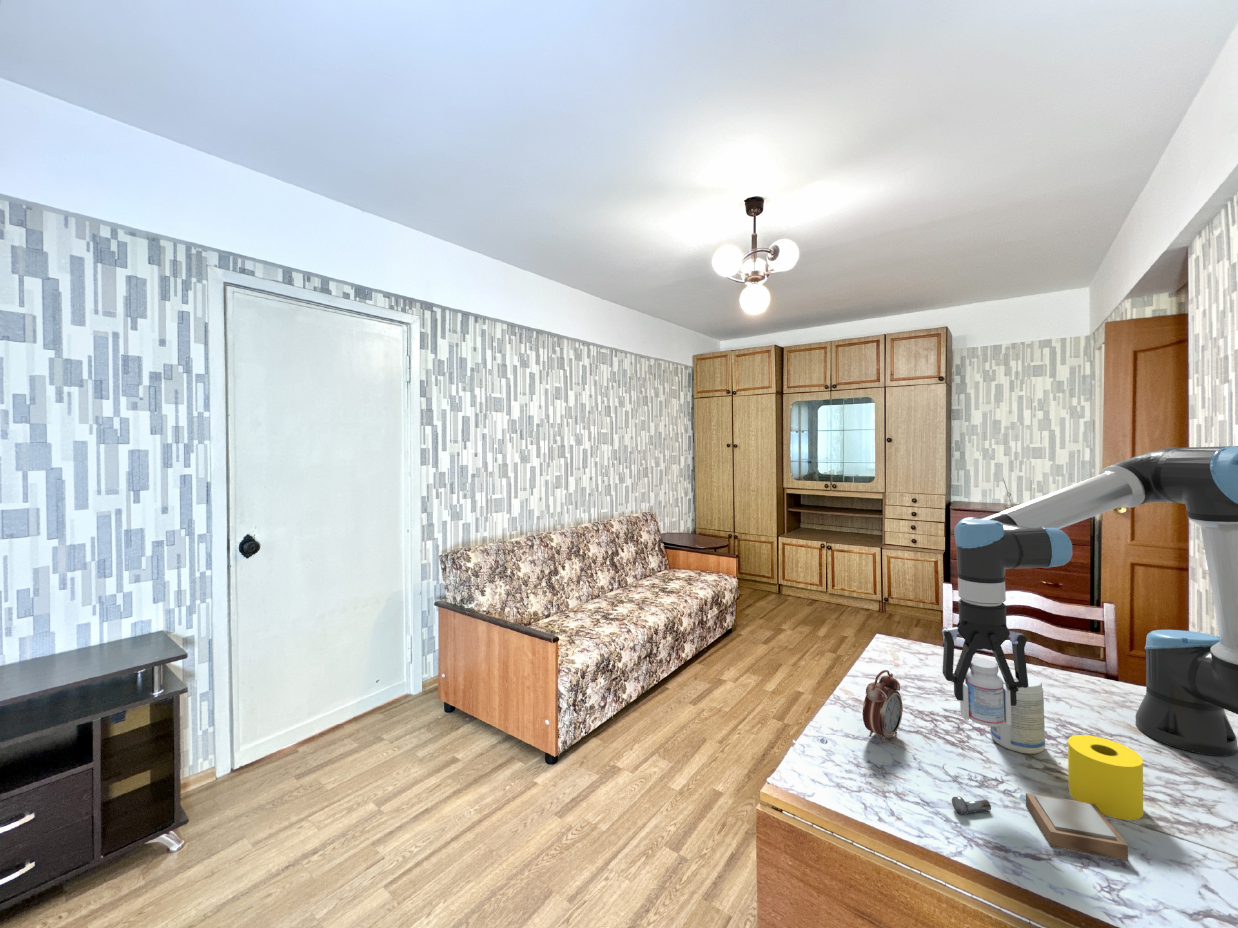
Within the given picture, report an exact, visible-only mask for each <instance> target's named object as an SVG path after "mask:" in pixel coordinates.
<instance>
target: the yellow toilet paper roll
mask: <svg viewBox="0 0 1238 928" xmlns="http://www.w3.org/2000/svg"><path fill="white" fill-rule="evenodd" d="M1067 761H1068V762H1067V763H1068V764H1067V765H1068V766H1067V767H1068V768H1067V769H1068V770H1067V774H1068V778H1067V779H1068V786H1067V787H1068V792H1069V794H1070V796H1071V797H1072V798H1073V799H1074V801H1080V802H1086V803H1092V804H1095V805H1096V806H1097V808H1098V809H1099V810H1100V811H1101V813H1102V814H1103V815H1104V816H1105V817H1110V818H1113V819H1119V820H1125V821H1133V820H1134V821H1135V820H1139V819H1142V817H1143V816H1144V759H1143V758H1142V756H1141V755H1140V754H1139V753H1138V752H1136V751H1135V750H1133V749H1132V748H1130V747H1128V746H1126V745H1124V744H1122V743H1119V742H1117V741H1113V740H1111V739H1108V738H1103V737H1099V736H1096V735H1095V736H1094V735H1087V734H1077V735H1071V736H1070V737H1069V738H1068V739H1067Z"/></svg>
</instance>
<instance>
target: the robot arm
mask: <svg viewBox="0 0 1238 928" xmlns="http://www.w3.org/2000/svg"><path fill="white" fill-rule="evenodd" d="M1150 503H1151V504H1152V503H1173V504H1183V505H1185V507H1186V508H1185V510H1186V516H1187V519H1188V520H1191V521H1192V522H1194V523H1195V524H1197V525H1199V526H1200V528H1201V529H1200V530H1201V531H1200V532H1201V534H1202V540H1203V541H1202V542H1203V547H1204V548H1203V549H1204V553H1205V560H1206V565H1207V571H1208V577H1209V583H1210V589H1211V593H1212V594H1211V595H1212V600H1213V605H1214V613H1215V618H1216V625H1217V629H1218V635H1219V636H1218V635H1215V634H1210V633H1205V632H1201V631H1192V630H1180V629H1156V630H1152V631H1149V632H1148V633H1147V635H1146V639H1145V640H1146V641H1145V646H1144V654H1145V656H1144V657H1145V659H1144V660H1145V681H1146V682H1145V687H1146V688H1145V689H1146V690H1145V692H1146V693H1145V695H1144V697H1143V699H1142V701H1141V704H1140V705H1139V707H1138V709H1137V711H1136V713H1135V726H1136V728H1137V729H1138V730H1139V731H1141V733H1143V734H1145V735H1146V736H1148V737H1150V738H1152V739H1154V740H1156V741H1158V742H1160V743H1163V744H1165V745H1168V746H1171V747H1174V748H1176V749H1179V750H1184V751H1186V752H1187V751H1188V752H1191V753H1196V754H1200V755H1201V754H1202V755H1207V756H1215V757H1216V756H1217V757H1225V756H1232V755H1235V754H1236V753H1238V739H1237V737H1236V736H1237V735H1236V734H1235V732H1234V729H1233V727H1232V725H1231V723H1230V721H1229V719H1228V716H1227V714H1226V712H1225V711H1228V712H1230V713H1233V714H1236V715H1238V445H1233V446H1231V445H1229V446H1226V445H1225V446H1197V447H1195V446H1191V447H1188V446H1187V447H1186V446H1185V447H1184V446H1176V447H1175V446H1173V447H1167V448H1166V447H1165V448H1161V449H1156V450H1152V451H1149V452H1146V453H1145V452H1144V453H1142V454H1139V455H1136V456H1133V457H1130V458H1127V459H1125V460H1121V461H1119V462H1116V463H1114V464H1111V465H1109V466H1106V467H1104V468H1102V469H1101V470H1100V472H1099V473H1098V475H1096V476H1093V477H1090V478H1087V479H1085V480H1083V481H1080V482H1077V483H1074V484H1072V485H1068V486H1066V487H1063V488H1060V489H1058V490H1056V491H1053V492H1050V493H1047V494H1046V495H1042V496H1039V497H1038V498H1037V497H1036V498H1033V499H1031V500H1029V501H1026V502H1024V503H1021V504H1017V505H1015V506H1013V507H1011V508H1007V509H1004V510H1002V511H1000V512H998V513H994V514H991V515H988V516H985V517H977V516H976V517H975V516H974V517H969V516H968V517H965V518H962V519H961V520H959V521H958V523H956V525H955V527H954V532H953V535H954V539H955V546H956V564H957V565H956V567H957V568H956V569H957V591H958V592H957V595H958V597H959V599H958V604H957V605H958V622H957V624H956V626H955V627H950V628H949V627H948V628H947V627H946V626H943V627H941V630H940V631H941V633H942V636H943V657H942V675H943V677H944V678H945V680H946V681H948V682H952V683H953V695H954V697H955V699H956V701H960V702H959V705H960V708H959V709H960V714H961V715H962V718H963V719H964V720H967V721H969V720H970V719H969V701H968V686H967V685H966V683H965V678H966V675H967V672H968V671H969V670H970V664H971V661H972V658H974V656H975V655H976V653H977V650H980V651H981V650H986V651H987V650H988V651H992V653H993V656H994V659H995V662H996V663H997V664H998V669H1000V671H1001V673H1002V676H1003V678H1004V681H1005V683H1006V685H1005V684H1003V689H1004V717H1005V723H1006V724H1010V725H1011V706H1016V704H1017V701H1016V692H1018V690H1019V689H1018V688H1021V687H1023V688H1027V687H1028V677H1027V673H1028V668H1027V662H1026V661H1027V660H1026V653H1025V648H1026V644H1027V640H1028V638H1027V637H1026V636H1025V635H1024V634H1023V633H1022V632H1020V631H1013V630H1012V631H1011V630H1010V629H1009V628H1008V627H1007V626H1008V625H1007V606H1006V604H1005V602H1006V600H1007V598H1006V595H1007V594H1006V570H1014V569H1015V570H1017V569H1038V568H1039V569H1040V568H1043V569H1049V568H1054V567H1061V566H1065V565H1066V564H1068V563H1069V562H1070V561H1071V559H1072V557H1073V553H1074V552H1073V543H1072V541H1071V539H1070V537H1069V536H1068V535H1067V533H1066V532H1064V531H1063V530H1061V529H1064V528H1065V527H1068V526H1071V525H1074V524H1076V523H1077V524H1078V523H1079V522H1082V521H1085V520H1087V519H1091V518H1094V517H1095V516H1098V515H1102V514H1104V513H1107V512H1109V511H1111V510H1115V509H1118V508H1120V507H1123V508H1135V507H1138V506H1140V505H1141V506H1142V505H1144V504H1150ZM957 635H960V636H961V637H962V639H963V640H964V642H963V645H962V649H961V650H962V651H961V653H960V656H959V658H958V660H957V664H956V667H955V669H954V660H955V658H954V657H955V641H956V640H957ZM1008 638H1009V642H1011V648H1012V649H1011V650H1012V658H1013V665H1014V666H1013V667H1014V670H1015V676H1016V678H1013V676H1012V673H1011V671H1010V670H1011V668H1010V667H1009V664H1008V662H1007V659H1006V657H1005V653H1004V650H1003V648H1002V644H1004V642H1005V641H1006V640H1007V639H1008Z"/></svg>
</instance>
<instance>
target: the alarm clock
mask: <svg viewBox="0 0 1238 928" xmlns="http://www.w3.org/2000/svg"><path fill="white" fill-rule="evenodd" d="M885 673H887V675H883V674H885ZM881 675H883V676H881ZM880 676H881V677H880ZM879 677H880V678H879ZM878 680H879V681H878ZM900 690H901V684H900V682H899V680H898V679H896V678H894V674H893V673H890V671H889V670H887V669H885V670H884V669H883V670H882V671H880V672H879V673H877V675H876V676H875V680H874V682H870V683H868V684H867V685H866V687H865V696H864V701H863V707H862V720H863V724H864V726H865V729H866V730H868V731H870V732H869V734H868V737H870V738H871V737H872V735H873V734H875V735H878V736H881V743H880V744H882V745H885V739H886V738H892V737H893V736H895V735H896V734H898V730H899V727H900V725H901V723H902V718H903V712H904V711H903V706H904V705H903V700H902V695H901V693H900V692H899V691H900Z"/></svg>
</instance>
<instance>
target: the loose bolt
mask: <svg viewBox="0 0 1238 928" xmlns="http://www.w3.org/2000/svg"><path fill="white" fill-rule="evenodd" d="M951 804H952V807H953V808H954V809H953V810H954V811H955V812H956V813H957V814H959V815H966V814H968V813H979V812H989V811H991V810H992V806H991V803H990V802H989V801H988V800H987V799H981V800H971V801H966V800H965V799H964V798H963V797H961V796H959V795H958V796H952V797H951Z"/></svg>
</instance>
